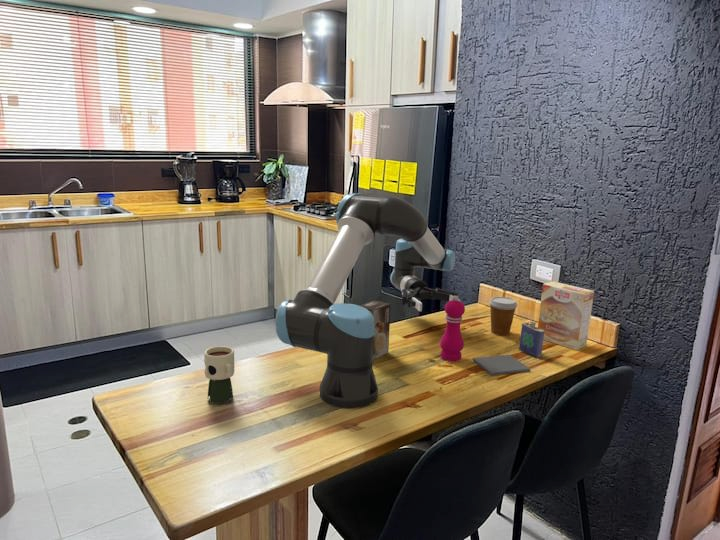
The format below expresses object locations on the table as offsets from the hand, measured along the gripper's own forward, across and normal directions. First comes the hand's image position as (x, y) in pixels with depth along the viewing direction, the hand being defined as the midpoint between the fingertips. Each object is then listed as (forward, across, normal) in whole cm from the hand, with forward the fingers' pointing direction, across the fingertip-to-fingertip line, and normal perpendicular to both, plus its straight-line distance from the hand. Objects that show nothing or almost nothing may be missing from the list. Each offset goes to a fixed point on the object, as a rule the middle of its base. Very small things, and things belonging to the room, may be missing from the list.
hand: (440, 306), depth 175 cm
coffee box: (+2, +23, -14) cm, 27 cm away
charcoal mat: (+19, -12, -14) cm, 26 cm away
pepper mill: (+10, 0, -14) cm, 17 cm away
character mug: (+22, +70, -13) cm, 75 cm away
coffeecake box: (+6, -44, -14) cm, 46 cm away
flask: (+12, -27, -14) cm, 32 cm away
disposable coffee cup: (-7, -28, -14) cm, 32 cm away
